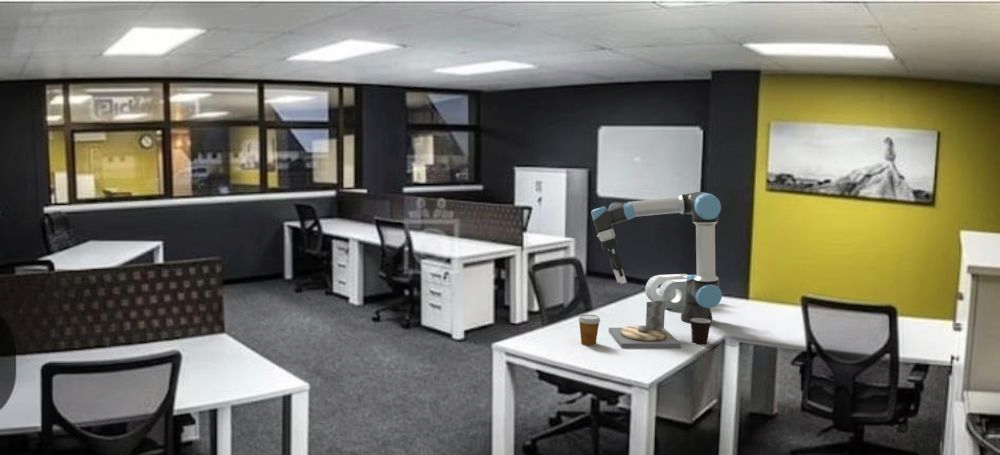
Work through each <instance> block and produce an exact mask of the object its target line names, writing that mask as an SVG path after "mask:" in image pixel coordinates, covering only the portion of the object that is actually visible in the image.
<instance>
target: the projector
mask: <svg viewBox="0 0 1000 455" xmlns="http://www.w3.org/2000/svg"><path fill="white" fill-rule="evenodd" d="M688 275H689V274H686V273H675V274H674V273H673V274H657V275H654V276H652V277H650V278H649V279H648V280H647V282H646V285H645V288H644V289H645V295H646V297H647V299H648V300H649V301H650V302H651V301H657V300H665V308H667V309H670V310H672V311H673V310H683V309H684V306H685V300H686V280H687V276H688ZM659 286H660V287H659ZM658 287H659V289H658ZM657 289H658V293H657Z"/></svg>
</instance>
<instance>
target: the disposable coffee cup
mask: <svg viewBox="0 0 1000 455" xmlns="http://www.w3.org/2000/svg"><path fill="white" fill-rule="evenodd" d="M600 323H601V319H600V316H599V315H597V314H589V313H585V314H581V315H579V317H578V324H579V332H580V334H579V335H580V343H581V344H582V345H584V346H595V345H596V344H597V338H598V331H599V325H600Z"/></svg>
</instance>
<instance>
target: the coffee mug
mask: <svg viewBox="0 0 1000 455" xmlns="http://www.w3.org/2000/svg"><path fill="white" fill-rule="evenodd" d="M710 328H711V321H710V320H708V319H703V318H693V319H691V323H690V331H691V342H692V344H694V343H695V344H694V345H702V346H703V344H704V345H707V343H708V339H709V334H710Z"/></svg>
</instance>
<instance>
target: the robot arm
mask: <svg viewBox="0 0 1000 455" xmlns="http://www.w3.org/2000/svg"><path fill="white" fill-rule="evenodd" d="M721 210H722V206H721V202H720V200H719V198H718V197H717V196H716V195H714V194H712V193H709V192H708V193H707V192H704V191H696V192H691V193H690V192H689V193H686V194H684V193H683V194H679V196H675V197H674V196H673V197H665V198H656V199H646V200H643V199H642V200H634V201H627V202H618V201H617V202H616V201H615V202H613V203H612V202H611V204H610V205H609V206H608V208H607V207H606V206H601V207H598V208H594V209H592V210H591V212H590V214H591V218H592V221H593V224H594V227H595V230H596V233H597V235H596V236H597V238H598V239H599V241H600V244H601V248H602V250H607V251H606V252H607V255H608V257H609V258H608V259H609V262H610V265H611V268H612V271H613V274H614V276H615V279H616V282H617V283H620V285H622V284H626V283H628V282H627V279H626V275H625V272H624V270H623V265H622V263H621V260H620V257H619V254H618V252H617V249H616V248H615V247H617V246H618V244H619V243H618V239H617V238H616V234H615V231H614V228H613V225H615V224H619V223H622V222H625V221H629V220H632V219H633V218H635V217H644V216H645V217H646V216H655V215H657V216H658V215H666V214H667V215H668V214H678V213H679V214H681V215H692V223H693V224H694V225H695V252H696V253H695V254H696V256H695V257H696V274H687V275H688V276H687V280H686V300H685V306H684V309H682V312H681V314H680V320H681V321H682V322H685V323H689V324H691V319H693V318H703V319H708V320H710V321H711V323H712V322H713V315H712V311H711V308H715V307H716V306H717V305H719V304H720V302H721V300H722V299H723V298H722V297H723V295H722V290H721V289H720V285H719V284H720V282H719V280H720V278H719V277H718V276H717V275H716V228H715V227H716V225H717V223H719V215H720V213H721ZM711 323H710V324H711Z"/></svg>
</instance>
